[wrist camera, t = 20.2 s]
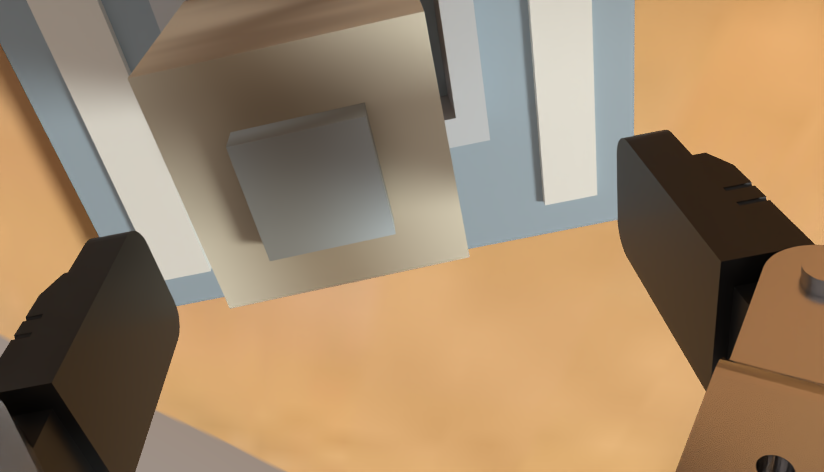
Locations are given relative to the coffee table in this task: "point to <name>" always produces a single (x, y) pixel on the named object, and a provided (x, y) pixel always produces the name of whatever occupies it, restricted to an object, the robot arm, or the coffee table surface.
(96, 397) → the robot arm
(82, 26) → the jig
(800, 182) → the coffee table surface
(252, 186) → the block
